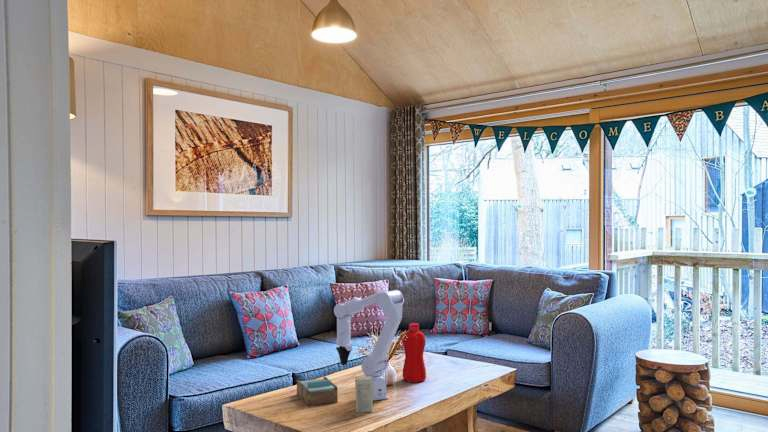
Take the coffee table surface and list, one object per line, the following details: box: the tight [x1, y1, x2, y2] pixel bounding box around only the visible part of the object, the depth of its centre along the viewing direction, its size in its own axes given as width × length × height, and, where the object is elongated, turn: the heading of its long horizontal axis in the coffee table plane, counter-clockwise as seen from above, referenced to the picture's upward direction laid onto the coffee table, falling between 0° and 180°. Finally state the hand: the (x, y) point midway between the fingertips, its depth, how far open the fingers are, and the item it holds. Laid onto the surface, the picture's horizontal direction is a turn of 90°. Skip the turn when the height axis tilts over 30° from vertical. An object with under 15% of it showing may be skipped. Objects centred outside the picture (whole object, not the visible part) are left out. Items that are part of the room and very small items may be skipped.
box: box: [296, 376, 338, 407], centre depth 230 cm, size 16×12×6 cm
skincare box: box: [354, 376, 374, 413], centre depth 215 cm, size 6×4×12 cm
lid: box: [299, 378, 335, 392], centre depth 229 cm, size 14×10×3 cm
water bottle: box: [401, 322, 427, 383], centre depth 254 cm, size 9×11×25 cm
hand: (343, 364), depth 242 cm, fingers closed
